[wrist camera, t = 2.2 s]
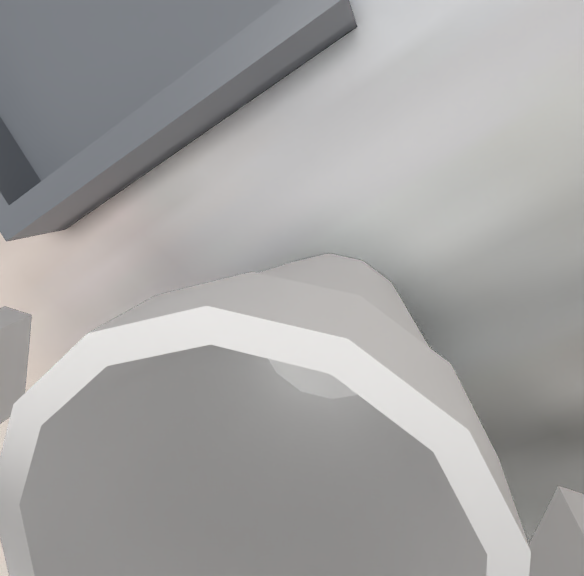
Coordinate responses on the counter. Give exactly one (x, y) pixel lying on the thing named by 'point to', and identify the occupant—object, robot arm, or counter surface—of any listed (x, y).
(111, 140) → the bin
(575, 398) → the counter surface
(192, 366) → the foam cup
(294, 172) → the counter surface
